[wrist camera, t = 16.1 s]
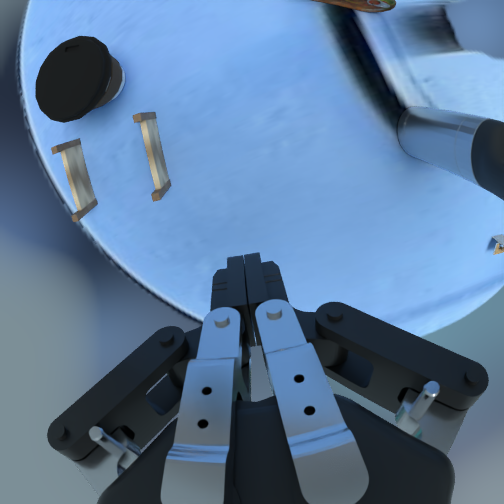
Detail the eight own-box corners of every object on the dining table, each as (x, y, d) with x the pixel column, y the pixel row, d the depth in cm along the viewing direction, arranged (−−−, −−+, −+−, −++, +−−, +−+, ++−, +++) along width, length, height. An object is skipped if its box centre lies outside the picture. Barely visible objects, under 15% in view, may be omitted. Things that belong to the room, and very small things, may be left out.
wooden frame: (171, 185, 39) (160, 200, 33) (93, 205, 39) (73, 222, 33) (155, 112, 34) (140, 112, 27) (74, 140, 34) (51, 148, 28)
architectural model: (498, 244, 51) (514, 258, 44) (485, 247, 51) (502, 262, 44) (501, 233, 49) (518, 246, 43) (488, 235, 49) (506, 250, 43)
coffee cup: (84, 52, 27) (41, 41, 16) (147, 49, 28) (116, 29, 18) (73, 116, 32) (27, 125, 21) (133, 118, 34) (97, 123, 23)
